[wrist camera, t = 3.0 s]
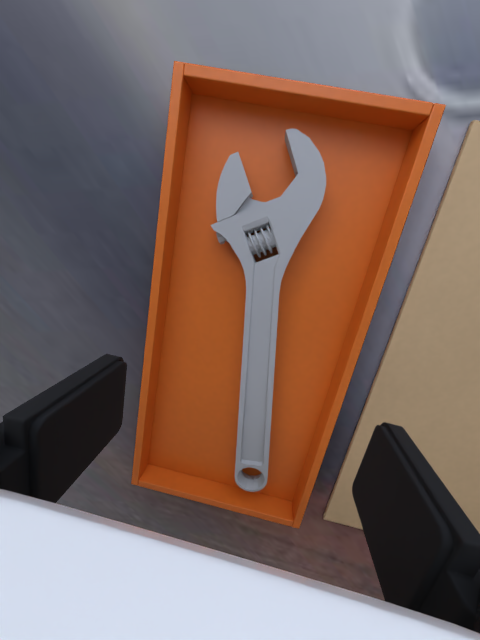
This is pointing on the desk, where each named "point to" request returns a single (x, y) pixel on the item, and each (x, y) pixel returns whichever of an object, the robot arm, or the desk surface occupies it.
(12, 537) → the robot arm
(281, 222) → the adjustable wrench
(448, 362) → the desk mat
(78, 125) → the desk surface
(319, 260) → the tool tray
